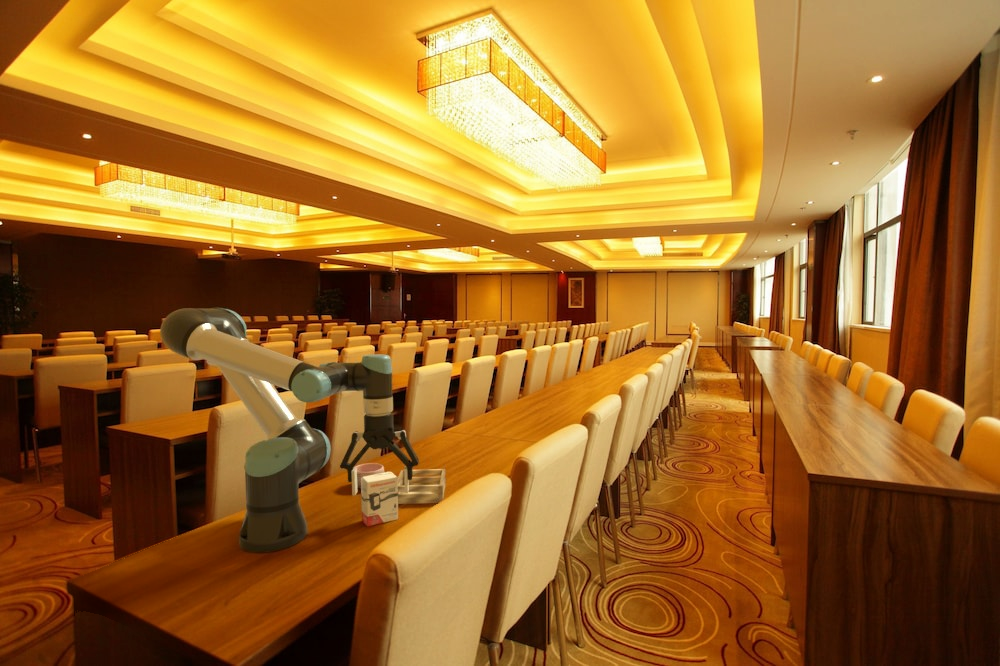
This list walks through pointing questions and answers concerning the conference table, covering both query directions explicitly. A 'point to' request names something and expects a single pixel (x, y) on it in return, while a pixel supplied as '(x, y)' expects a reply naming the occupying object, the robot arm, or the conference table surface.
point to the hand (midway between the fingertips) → (381, 492)
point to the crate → (422, 487)
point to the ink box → (379, 498)
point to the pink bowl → (368, 471)
